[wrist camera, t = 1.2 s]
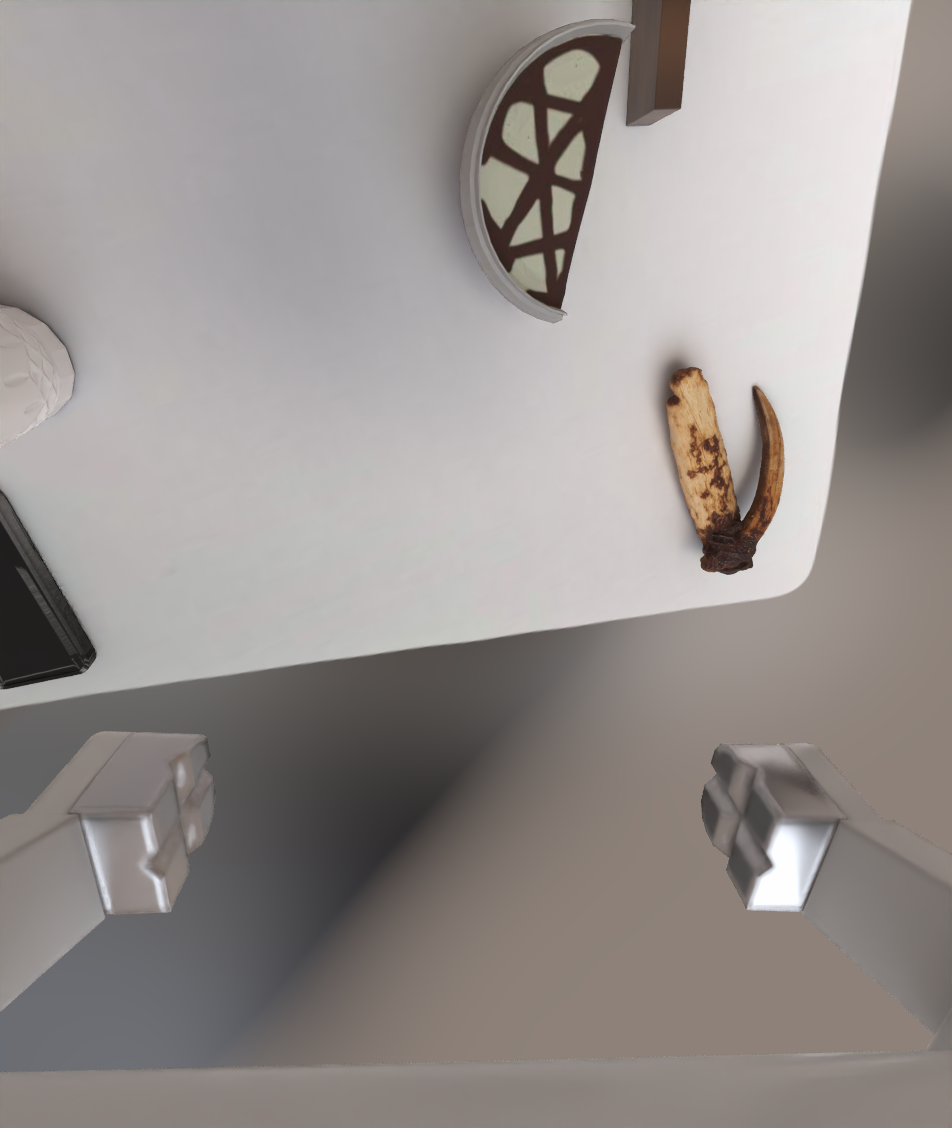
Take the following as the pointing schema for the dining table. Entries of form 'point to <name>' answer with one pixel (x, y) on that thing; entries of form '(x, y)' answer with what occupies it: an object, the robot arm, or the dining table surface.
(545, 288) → the food container
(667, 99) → the corner guide
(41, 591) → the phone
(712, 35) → the dining table surface
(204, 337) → the dining table surface
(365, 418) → the dining table surface
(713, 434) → the lashed bone hook
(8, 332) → the white cup
